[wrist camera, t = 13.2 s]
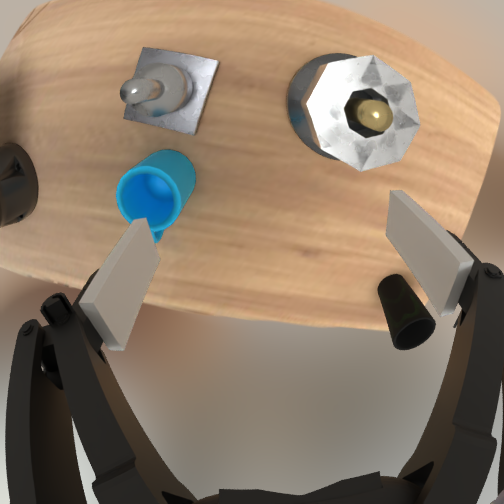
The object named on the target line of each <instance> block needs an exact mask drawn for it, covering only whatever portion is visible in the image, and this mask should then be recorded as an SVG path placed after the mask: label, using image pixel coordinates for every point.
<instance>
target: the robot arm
mask: <svg viewBox="0 0 504 504" xmlns="http://www.w3.org/2000/svg"><path fill="white" fill-rule="evenodd" d="M37 197H38V184H37V177H36V173H35V170H34V167H33V164H32V162H31V160H30V158H29V157H28V155H27V154H26V152H25V151H24V150H23V149H22V148H21V147H20V146H18V145H16V144H13V143H7V144H4V145H2V146H0V228H1V227H4V226H7V225H10V224H13V223H17V222H20V221H22V220H23V219H25V218H26V217H27V216H28V215H29V214H31V212H32V211H33V210H34V208H35V205H36V202H37ZM386 236H387V238H388V239H389V240H390V242H391V243H392V244H393V246H394V247H395V249H396V250H397V251H398V253H399V254H400V256H401V257H402V258H403V260H404V261H405V263H406V264H407V266H408V267H409V269H410V270H411V272H412V273H413V275H414V276H415V278H416V279H417V281H418V282H419V284H420V285H421V287H422V288H423V290H424V292H425V293H426V295H427V296H428V298H429V300H430V301H431V303H432V304H433V306H434V308H435V309H436V311H437V313H438V314H439V316H440V317H442V316H446V315H449V314H453V313H454V311H455V308H456V306H457V304H458V303H459V305H460V306H461V308H462V310H461V312H460V314H459V316H458V318H457V320H456V322H455V324H454V328H455V327H456V326H457V328H456V334H455V338H454V342H453V346H452V350H451V354H450V358H449V362H448V365H447V369H446V372H445V376H444V379H443V382H442V385H441V389H440V392H439V394H438V397H437V400H436V403H435V406H434V408H433V411H432V413H431V416H430V418H429V421H428V423H427V426H426V428H425V430H424V433H423V435H422V437H421V439H420V442H419V444H418V446H417V448H416V450H415V452H414V454H413V455H412V456H411V458H410V459H409V460H408V462H407V463H406V464H405V466H404V467H403V468H402V470H401V472H400V473H399V475H398V477H397V478H396V477H389V476H380V471H378V472H374V473H371V474H367V475H363V476H359V477H354V478H350V479H345V480H341V481H339V482H336V483H334V484H332V485H329V486H327V487H324V488H321V489H319V490H316V491H314V492H311V493H308V494H305V495H291V494H283V493H276V492H270V491H264V490H259V489H255V490H233V489H232V490H231V489H219V494H216V495H212V496H208V497H205V498H203V499H200V500H197V499H196V498H195V497H194V496H193V494H192V493H191V492H190V491H189V490H188V489H187V488H186V487H185V486H184V485H183V484H182V483H181V482H179V481H178V480H177V479H176V477H175V476H174V475H173V473H172V472H171V471H170V469H169V468H168V467H167V465H166V464H165V462H164V461H163V460H162V458H161V457H160V455H159V454H158V452H157V451H156V449H155V448H154V446H153V444H152V443H151V441H150V440H149V438H148V437H147V435H146V433H145V432H144V430H143V428H142V427H141V425H140V423H139V422H138V420H137V418H136V416H135V415H134V413H133V411H132V409H131V407H130V406H129V404H128V402H127V400H126V398H125V396H124V394H123V392H122V390H121V388H120V386H119V384H118V382H117V380H116V378H115V376H114V374H113V372H112V370H111V368H110V365H109V363H108V361H107V359H106V356H105V354H104V352H103V351H102V350H101V345H102V343H103V342H104V343H105V344H106V346H107V347H108V348H109V350H118V351H124V349H125V347H126V344H127V341H128V338H129V336H130V333H131V330H132V328H133V325H134V322H135V320H136V317H137V314H138V312H139V309H140V307H141V304H142V302H143V299H144V297H145V295H146V292H147V290H148V287H149V285H150V282H151V280H152V278H153V275H154V273H155V271H156V268H157V266H158V264H159V262H160V257H159V254H158V251H157V248H156V246H155V243H154V240H153V237H152V234H151V231H150V228H149V225H148V222H147V218H141V219H135V220H133V222H132V223H131V224H130V226H129V227H128V229H127V230H126V231H125V233H124V234H123V235H122V237H121V238H120V240H119V241H118V243H117V244H116V245H115V247H114V248H113V250H112V251H111V253H110V254H109V256H108V257H107V259H106V260H105V262H104V263H103V265H102V266H101V268H100V269H98V270H97V271H95V272H94V273H93V274H92V275H91V276H90V278H89V279H88V281H87V282H86V285H85V286H84V287H83V290H82V291H81V292H80V294H79V295H78V297H77V299H76V300H75V302H74V303H73V305H72V306H71V304H70V302H69V301H68V299H67V297H66V296H65V294H64V293H56V294H54V295H52V296H50V297H49V298H47V299H46V301H45V302H44V303H43V304H42V306H41V310H40V311H41V313H42V314H43V316H44V317H45V319H46V320H47V322H48V323H49V325H47V326H44V327H42V326H41V325H40V324H39V322H38V321H37V320H36V319H32V320H29V321H27V322H25V324H23V325H22V327H21V329H20V330H19V333H18V336H17V340H16V345H15V350H14V355H13V361H12V366H11V373H10V380H9V388H8V397H7V409H6V431H5V433H6V434H5V442H6V443H5V448H6V449H5V450H6V470H7V481H8V489H9V496H10V504H87V501H86V497H85V493H84V489H83V485H82V481H81V476H80V471H79V466H78V461H77V455H76V449H75V442H74V436H73V435H74V434H73V426H72V418H73V421H74V424H75V427H76V429H77V432H78V435H79V437H80V440H81V443H82V445H83V448H84V450H85V452H86V455H87V457H88V460H89V462H90V464H91V466H92V468H93V471H94V473H95V476H96V480H95V481H94V482H93V483H92V489H93V492H94V494H95V496H96V498H97V500H98V502H99V504H476V503H477V501H478V499H479V496H480V494H481V492H482V489H483V487H484V484H485V482H486V479H487V476H488V473H489V470H490V468H491V465H492V462H493V458H494V455H495V452H496V446H497V440H496V438H494V437H492V435H491V432H492V427H493V423H494V419H495V414H496V410H497V404H498V399H499V393H500V387H501V381H502V393H503V429H502V445H501V455H500V463H499V474H498V497H497V499H496V500H494V501H493V502H491V503H490V504H504V275H503V273H502V271H501V270H500V269H499V268H498V267H497V266H495V265H493V264H490V263H481V261H480V260H479V259H478V258H477V257H476V256H475V255H474V254H473V253H472V252H471V251H470V249H468V248H467V247H466V245H465V244H464V243H462V241H461V240H460V239H459V238H458V237H457V236H456V235H454V234H453V233H451V232H450V231H448V230H445V229H444V228H443V227H442V226H441V225H440V224H439V223H438V222H437V221H436V220H435V219H434V218H433V217H432V216H430V215H429V214H428V213H427V212H426V211H425V210H424V209H423V208H422V207H421V206H420V205H419V204H417V203H416V202H415V201H414V200H413V199H412V198H411V197H409V196H408V195H407V194H406V193H405V192H404V191H402V190H393V191H390V198H389V209H388V219H387V227H386ZM41 366H42V367H43V368H44V370H43V371H42V368H41Z"/></svg>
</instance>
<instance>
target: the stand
mask: <svg viewBox="0 0 504 504" xmlns="http://www.w3.org/2000/svg"><path fill="white" fill-rule="evenodd" d="M219 64H220V62H219V61H216V60H212V59H208V58H203V57H199V56H194V55H189V54H184V53H179V52H173V51H167V50H161V49H153V48H146V47H143V49H142V52H141V55H140V58H139V61H138V64H137V68H136V71H135V74H134V76H133V78H132V79H130V80H128V81H126V82H125V83H124V84H123V85H122V87H121V90H120V97H121V99H122V100H123V102H125V103H127V105H126V109H125V113H124V118H123V119H127V120H132V121H136V122H141V123H145V124H150V125H154V126H158V127H163V128H167V129H171V130H175V131H179V132H182V133H186V134H190V135H195V134H196V132H197V129H198V126H199V122H200V119H201V116H202V113H203V110H204V107H205V104H206V100H207V97H208V95H209V92H210V89H211V86H212V83H213V80H214V77H215V74H216V72H217V69H218V66H219Z"/></svg>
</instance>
